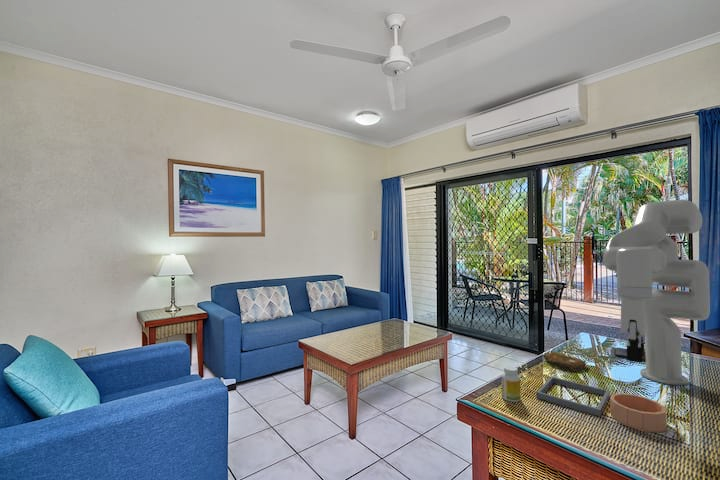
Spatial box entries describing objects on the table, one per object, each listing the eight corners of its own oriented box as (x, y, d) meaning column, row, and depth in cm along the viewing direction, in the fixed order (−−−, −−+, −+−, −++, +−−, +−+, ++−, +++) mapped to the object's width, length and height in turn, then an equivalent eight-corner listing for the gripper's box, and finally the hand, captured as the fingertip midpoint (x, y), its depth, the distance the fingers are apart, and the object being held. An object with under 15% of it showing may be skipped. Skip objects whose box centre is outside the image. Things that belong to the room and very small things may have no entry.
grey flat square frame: (551, 381, 116) (551, 376, 116) (609, 396, 105) (609, 390, 105) (536, 397, 105) (536, 392, 105) (600, 416, 93) (600, 410, 93)
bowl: (614, 405, 99) (613, 389, 99) (666, 419, 91) (666, 402, 91) (607, 421, 91) (607, 403, 91) (665, 438, 82) (665, 418, 82)
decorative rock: (537, 364, 134) (580, 377, 123) (537, 355, 134) (580, 366, 122) (547, 356, 141) (588, 367, 130) (547, 347, 141) (588, 357, 130)
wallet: (609, 353, 140) (611, 344, 152) (609, 358, 140) (611, 348, 152) (674, 364, 128) (671, 353, 139) (674, 369, 128) (671, 358, 139)
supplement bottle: (498, 396, 106) (497, 366, 106) (509, 393, 108) (509, 363, 108) (512, 403, 101) (511, 372, 101) (524, 400, 103) (523, 369, 103)
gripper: (621, 288, 100) (622, 348, 100) (612, 295, 88) (614, 363, 88) (654, 290, 94) (655, 354, 94) (650, 298, 82) (651, 371, 82)
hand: (635, 358), depth 91 cm, fingers closed on dice, 4 cm apart
